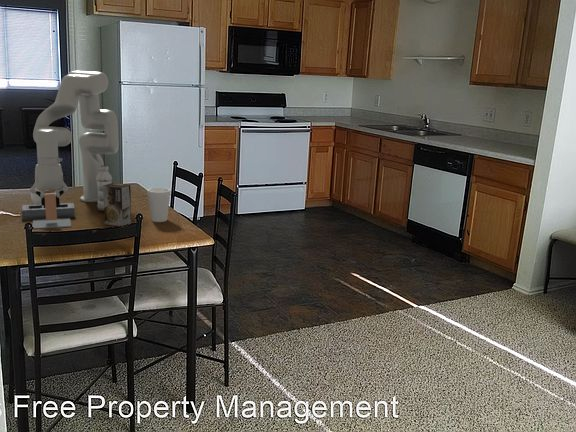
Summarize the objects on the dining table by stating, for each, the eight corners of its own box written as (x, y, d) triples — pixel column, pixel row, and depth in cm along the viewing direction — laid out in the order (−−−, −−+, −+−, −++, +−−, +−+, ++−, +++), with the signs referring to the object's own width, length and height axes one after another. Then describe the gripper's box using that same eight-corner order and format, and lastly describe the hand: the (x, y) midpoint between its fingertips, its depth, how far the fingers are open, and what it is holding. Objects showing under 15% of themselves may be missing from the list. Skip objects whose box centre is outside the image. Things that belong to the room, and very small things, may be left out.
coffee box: (132, 223, 235) (131, 184, 231) (122, 227, 229) (121, 187, 225) (113, 220, 238) (112, 182, 234) (103, 224, 232) (102, 185, 228)
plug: (56, 217, 230) (55, 193, 228) (56, 219, 226) (55, 195, 224) (46, 218, 228) (44, 193, 226) (46, 220, 225) (44, 195, 222)
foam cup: (151, 216, 246) (150, 187, 243) (172, 217, 246) (172, 188, 243) (145, 222, 237) (144, 191, 234) (167, 223, 237) (167, 193, 233)
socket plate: (73, 211, 247) (73, 202, 246) (74, 217, 239) (74, 208, 238) (23, 214, 240) (22, 205, 239) (22, 219, 232) (21, 210, 231)
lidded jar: (31, 208, 249) (29, 187, 246) (30, 203, 258) (29, 182, 256) (57, 207, 253) (56, 186, 251) (56, 201, 263) (55, 182, 260)
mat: (70, 219, 236) (69, 218, 236) (71, 226, 226) (71, 225, 225) (33, 220, 231) (33, 220, 231) (32, 229, 220) (32, 228, 220)
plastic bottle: (116, 210, 253) (115, 165, 248) (105, 213, 247) (104, 167, 242) (105, 208, 256) (103, 164, 251) (94, 211, 250) (92, 166, 245)
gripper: (70, 159, 228) (72, 203, 233) (24, 160, 222) (28, 205, 227) (71, 162, 222) (73, 208, 226) (24, 163, 215) (27, 210, 220)
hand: (50, 206), depth 226 cm, fingers closed on plug, 4 cm apart
